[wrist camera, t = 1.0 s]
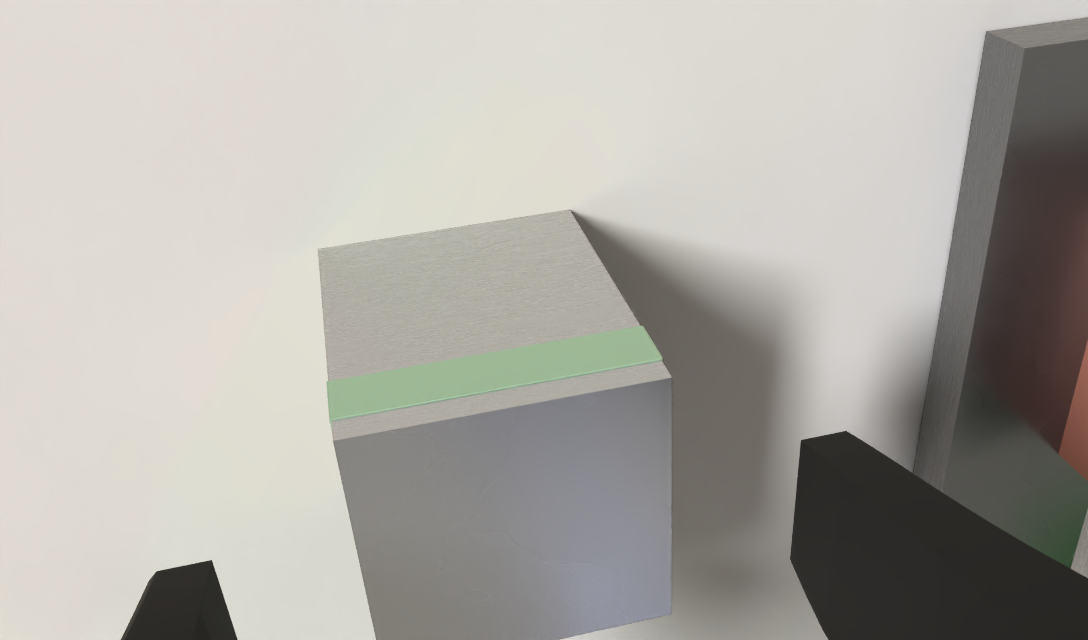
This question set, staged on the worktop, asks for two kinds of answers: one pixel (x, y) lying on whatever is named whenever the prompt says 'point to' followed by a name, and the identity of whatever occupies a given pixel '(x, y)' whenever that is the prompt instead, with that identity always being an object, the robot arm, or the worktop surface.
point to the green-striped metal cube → (498, 433)
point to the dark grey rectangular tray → (1019, 300)
